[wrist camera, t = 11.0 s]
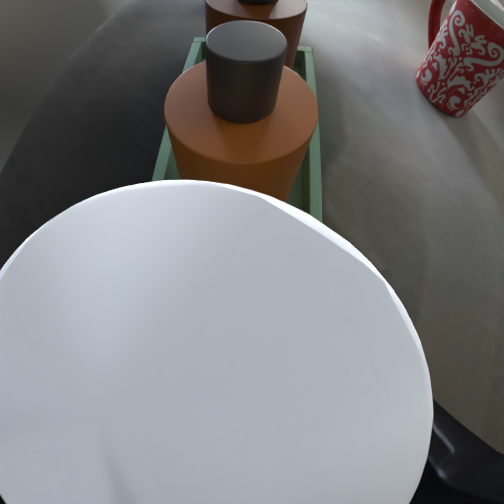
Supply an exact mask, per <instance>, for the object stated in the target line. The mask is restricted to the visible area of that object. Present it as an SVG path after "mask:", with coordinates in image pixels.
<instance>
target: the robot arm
mask: <svg viewBox="0 0 504 504" xmlns="http://www.w3.org/2000/svg"><path fill="white" fill-rule="evenodd" d="M432 400H433V423H432V431H431V438H430V445H429V450H428V455H427V460H426V463H425V466H424V470H423V473H422V476H421V479H420V482H419V484H418V486H417V489H416V491H415V493H414V495H413V497H412V499H411V501H410V503H409V504H504V454H501V453H500V452H498V451H496V450H495V449H493V448H492V447H491V446H489V445H488V444H487V443H485V442H484V441H483V440H481V439H480V438H479V437H478V436H476V435H475V434H474V433H472V432H471V431H470V430H469V429H467V428H466V427H465V426H464V425H462V424H461V423H460V422H459V421H457V420H456V419H455V418H454V417H453V416H451V415H450V414H449V413H448V412H447V411H446V410H445V409H444V408H443V407H441V406H440V405H439V404H438V403H437V402H436V401H435V400H434V399H432ZM0 504H6V503H5V502H4V500H3V499H2V497H1V496H0Z"/></svg>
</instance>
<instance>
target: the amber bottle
mask: <svg viewBox="0 0 504 504" xmlns="http://www.w3.org/2000/svg"><path fill="white" fill-rule="evenodd" d="M287 46H288V45H287V41H286V38H285V37H284V35H283V34H282V33H281V32H280V31H279V30H277V29H276V28H274V27H272V26H270V25H267V24H264V23H260V22H255V21H232V22H227V23H224V24H221V25H219V26H217V27H215V28H213V29H212V30H211V31H210V32H209V33H208V34H207V36H206V38H205V59H206V61H203V62H201V63H199V64H196V65H195V66H193V67H191V68H189V69H188V70H187V71H185V72H184V73H183V74H181V75H180V76H179V77H178V78H177V79H176V81H175V82H174V83H173V84H172V86H171V87H170V89H169V91H168V93H167V96H166V98H165V103H164V118H165V122H166V126H167V130H168V134H169V138H170V142H171V146H172V150H173V154H174V158H175V162H176V165H177V169H178V173H179V177H180V180H196V181H209V182H215V183H221V184H229V185H233V186H237V187H241V188H245V189H249V190H252V191H255V192H258V193H262V194H265V195H268V196H271V197H273V198H275V199H277V200H280V201H282V202H284V203H286V200H287V198H288V196H289V193H290V191H291V188H292V186H293V183H294V181H295V178H296V176H297V173H298V171H299V168H300V166H301V163H302V161H303V158H304V156H305V153H306V151H307V148H308V146H309V143H310V141H311V138H312V136H313V133H314V131H315V128H316V125H317V121H318V104H317V101H316V98H315V95H314V93H313V91H312V89H311V88H310V87H309V85H308V84H307V83H306V82H305V81H304V80H303V78H302V77H300V76H299V75H298V74H297V73H296V72H294V71H293V70H291V69H290V68H288V67H286V66H284V61H285V56H286V52H287Z"/></svg>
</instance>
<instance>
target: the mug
mask: <svg viewBox="0 0 504 504" xmlns="http://www.w3.org/2000/svg"><path fill="white" fill-rule="evenodd" d="M445 1H446V0H432V2H431V5H430V10H429V20H428V45H429V51H428V53H427V55H426V57H425V59H424V61H423V62H422V64H421V66H420V67H419V69H418V71H417V73H416V81H417V84H418V86H419V88H420V90H421V91H422V93H423V94H424V95H425V96H426V98H427V99H428V100H429V101H430V102H431V103H433V104H434V105H435V106H436V107H438V108H439V109H440V110H442V111H443V112H445V113H447V114H450V115H452V116H456V117H460V116H463V115H464V114H466V113H467V112H468V111H469V110H470V109H471V108H472V107H473V106H474V105H475V104H476V103H477V102H478V101H479V100H480V99H481V98H482V97H483V96H484V95H485V94H486V93H487V92H489V91H490V90H491V89H492V88H493V87H494V86H495V85H496V84H497V83H498V82H499V81H500V80H501V79H502V78H503V77H504V11H503V10H501V9H500V8H499V7H498V6H496V5H495V4H494V3H493V2H491V1H490V0H455V1H454V3H453V6H452V8H451V9H450V11H449V13H448V15H447V17H446V19H445V21H444V23H443V25H442V27H441V29H440V18H441V12H442V8H443V5H444V3H445Z"/></svg>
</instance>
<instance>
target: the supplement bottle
mask: <svg viewBox="0 0 504 504" xmlns="http://www.w3.org/2000/svg"><path fill="white" fill-rule="evenodd" d="M432 423H433V400H432V391H431V383H430V375H429V370H428V367H427V363H426V359H425V356H424V352H423V349H422V345H421V342H420V339H419V337H418V335H417V332H416V330H415V328H414V326H413V324H412V322H411V320H410V318H409V316H408V314H407V312H406V310H405V308H404V306H403V304H402V303H401V301H400V300H399V298H398V297H397V295H396V293H395V292H394V290H393V289H392V287H391V286H390V285H389V284H388V283H387V281H386V280H385V279H384V278H383V277H382V275H381V274H380V273H379V272H378V271H377V269H376V268H375V267H374V266H373V265H372V264H371V262H370V261H369V260H367V259H366V258H365V257H364V256H363V255H362V254H361V253H360V252H359V251H358V250H357V249H356V248H355V247H354V246H353V245H352V244H350V243H349V242H348V241H347V240H345V239H344V238H342V237H341V236H339V235H338V234H337V233H335V232H334V231H332V230H331V229H329V228H328V227H326V226H325V225H324V224H322V223H321V222H319V221H318V220H316V219H315V218H313V217H312V216H310V215H309V214H307V213H305V212H303V211H301V210H299V209H297V208H295V207H293V206H291V205H289V204H286V203H284V202H282V201H280V200H277V199H275V198H273V197H271V196H268V195H265V194H262V193H258V192H255V191H252V190H249V189H245V188H241V187H237V186H233V185H229V184H221V183H215V182H209V181H196V180H162V181H155V182H148V183H141V184H135V185H131V186H126V187H121V188H117V189H114V190H111V191H108V192H105V193H102V194H98V195H95V196H93V197H91V198H89V199H86V200H84V201H82V202H80V203H78V204H76V205H73V206H72V207H70V208H68V209H67V210H65V211H64V212H62V213H60V214H59V215H57V216H56V217H54V218H53V219H51V220H50V221H48V222H47V223H45V224H44V225H43V226H42V227H40V228H39V229H38V230H37V231H36V232H34V233H33V234H32V235H31V236H30V237H28V238H27V239H26V240H25V241H24V242H23V243H22V244H21V246H20V247H19V248H18V249H17V250H16V251H15V252H14V253H13V255H12V256H11V257H10V258H9V260H8V261H7V262H6V263H5V265H4V266H3V268H2V269H1V271H0V496H1V497H2V499H3V500H4V502H5V503H6V504H409V503H410V501H411V499H412V497H413V495H414V493H415V491H416V489H417V486H418V484H419V482H420V479H421V476H422V473H423V470H424V466H425V463H426V460H427V455H428V450H429V445H430V438H431V431H432Z"/></svg>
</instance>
